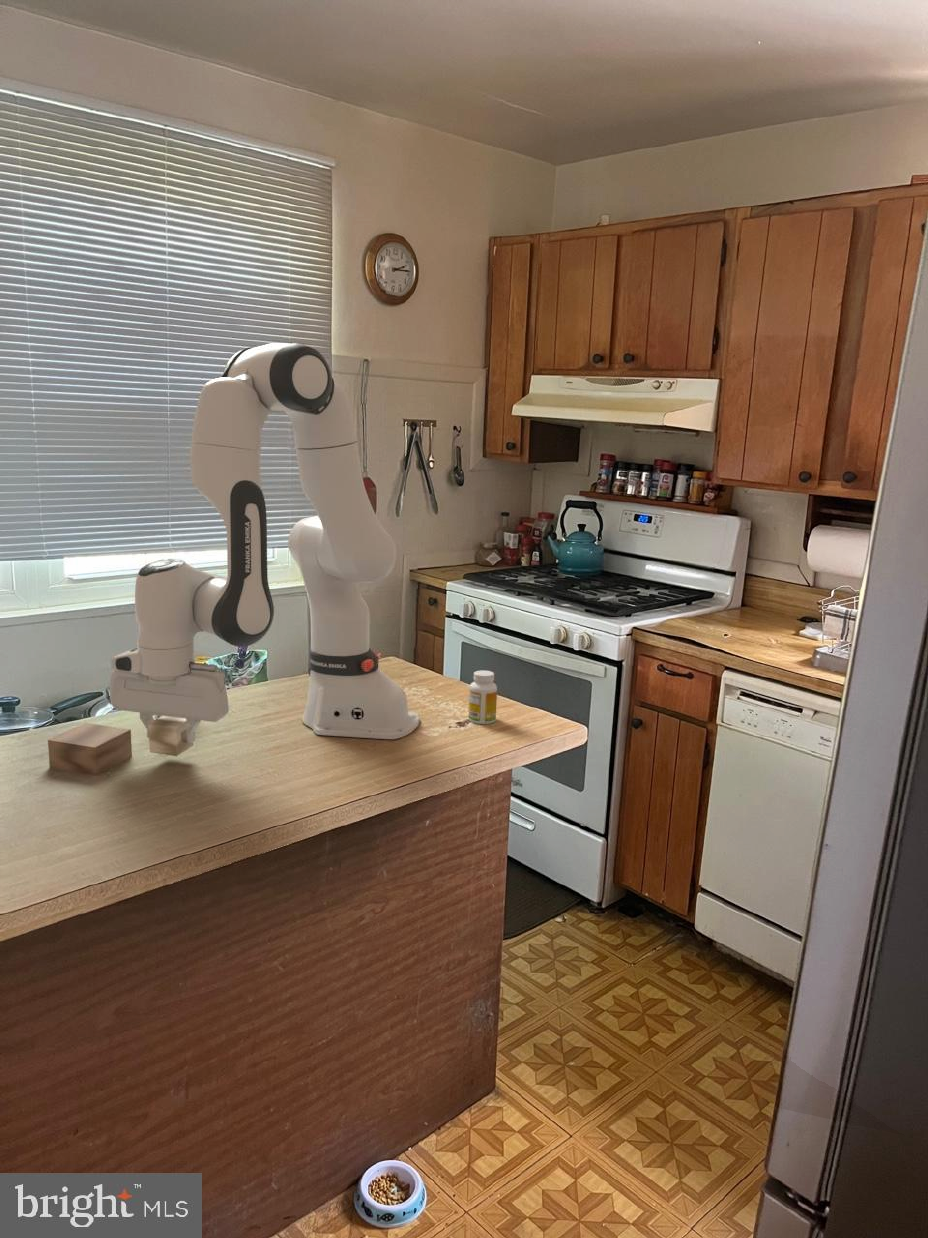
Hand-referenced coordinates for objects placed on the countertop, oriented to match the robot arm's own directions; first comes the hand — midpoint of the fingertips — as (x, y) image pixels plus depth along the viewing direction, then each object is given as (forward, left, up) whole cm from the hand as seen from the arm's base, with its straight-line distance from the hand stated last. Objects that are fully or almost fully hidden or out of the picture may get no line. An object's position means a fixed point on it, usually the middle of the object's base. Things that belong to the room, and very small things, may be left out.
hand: (171, 739), depth 149 cm
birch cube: (0, 0, -2) cm, 2 cm away
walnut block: (+12, +4, -4) cm, 14 cm away
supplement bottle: (-44, -40, -4) cm, 59 cm away
